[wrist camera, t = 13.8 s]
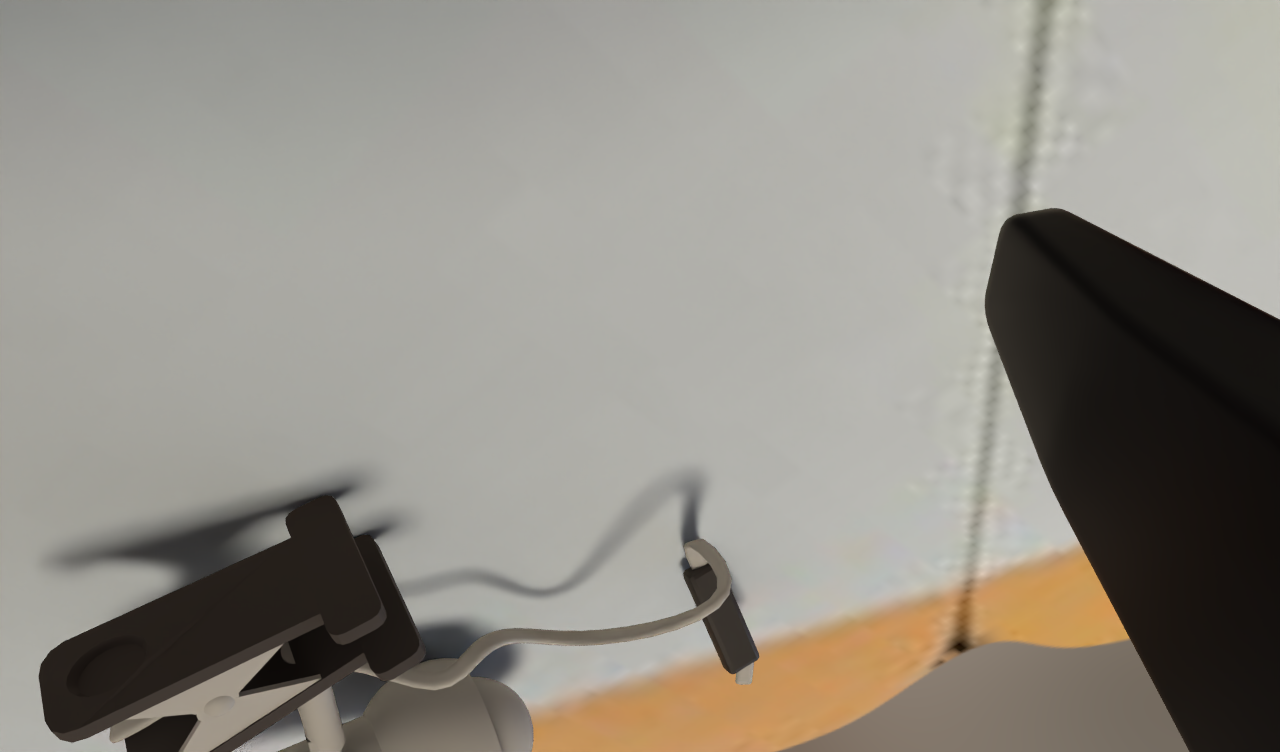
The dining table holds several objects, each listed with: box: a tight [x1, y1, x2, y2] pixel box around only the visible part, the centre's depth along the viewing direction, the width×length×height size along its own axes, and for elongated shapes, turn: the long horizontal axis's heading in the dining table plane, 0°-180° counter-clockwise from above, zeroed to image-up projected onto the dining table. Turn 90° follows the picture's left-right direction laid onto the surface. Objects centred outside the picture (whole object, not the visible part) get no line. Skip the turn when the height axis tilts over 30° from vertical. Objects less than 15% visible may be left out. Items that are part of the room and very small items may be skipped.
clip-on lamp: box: [39, 495, 759, 752], centre depth 31 cm, size 12×6×18 cm
